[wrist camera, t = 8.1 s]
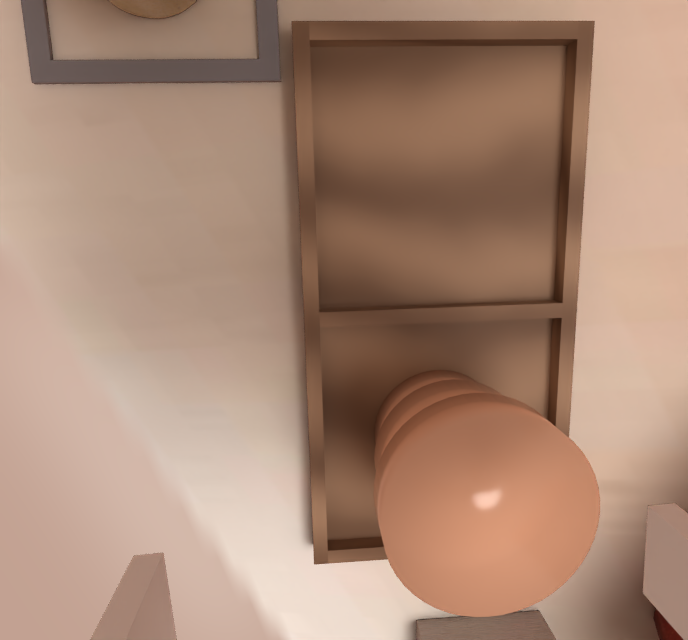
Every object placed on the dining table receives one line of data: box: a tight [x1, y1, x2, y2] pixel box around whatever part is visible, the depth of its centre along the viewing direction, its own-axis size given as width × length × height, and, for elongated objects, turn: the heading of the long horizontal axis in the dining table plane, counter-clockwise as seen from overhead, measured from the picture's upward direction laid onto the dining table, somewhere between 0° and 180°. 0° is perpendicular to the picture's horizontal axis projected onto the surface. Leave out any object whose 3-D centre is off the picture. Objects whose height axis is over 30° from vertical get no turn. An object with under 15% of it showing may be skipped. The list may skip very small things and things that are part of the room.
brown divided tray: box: [292, 21, 595, 564], centre depth 28 cm, size 28×15×2 cm, turn 1°
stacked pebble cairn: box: [373, 370, 600, 617], centre depth 25 cm, size 9×9×9 cm
